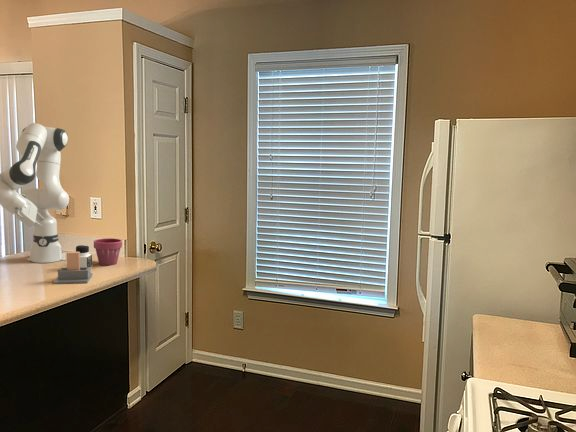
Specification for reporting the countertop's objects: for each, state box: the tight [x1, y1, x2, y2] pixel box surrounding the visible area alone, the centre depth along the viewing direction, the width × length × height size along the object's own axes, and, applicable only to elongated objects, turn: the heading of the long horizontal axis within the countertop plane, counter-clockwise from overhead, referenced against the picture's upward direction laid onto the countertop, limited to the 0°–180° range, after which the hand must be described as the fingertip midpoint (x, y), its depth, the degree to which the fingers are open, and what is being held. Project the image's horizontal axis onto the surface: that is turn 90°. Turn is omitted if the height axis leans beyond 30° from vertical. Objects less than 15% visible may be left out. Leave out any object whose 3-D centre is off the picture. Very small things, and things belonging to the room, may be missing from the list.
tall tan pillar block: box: [66, 251, 80, 270], centre depth 214 cm, size 3×5×12 cm, turn 103°
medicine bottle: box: [75, 244, 93, 268], centre depth 234 cm, size 7×7×12 cm
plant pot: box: [93, 237, 123, 266], centre depth 246 cm, size 14×14×13 cm
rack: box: [53, 266, 93, 285], centre depth 214 cm, size 14×14×5 cm
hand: (42, 223), depth 215 cm, fingers open, 8 cm apart
